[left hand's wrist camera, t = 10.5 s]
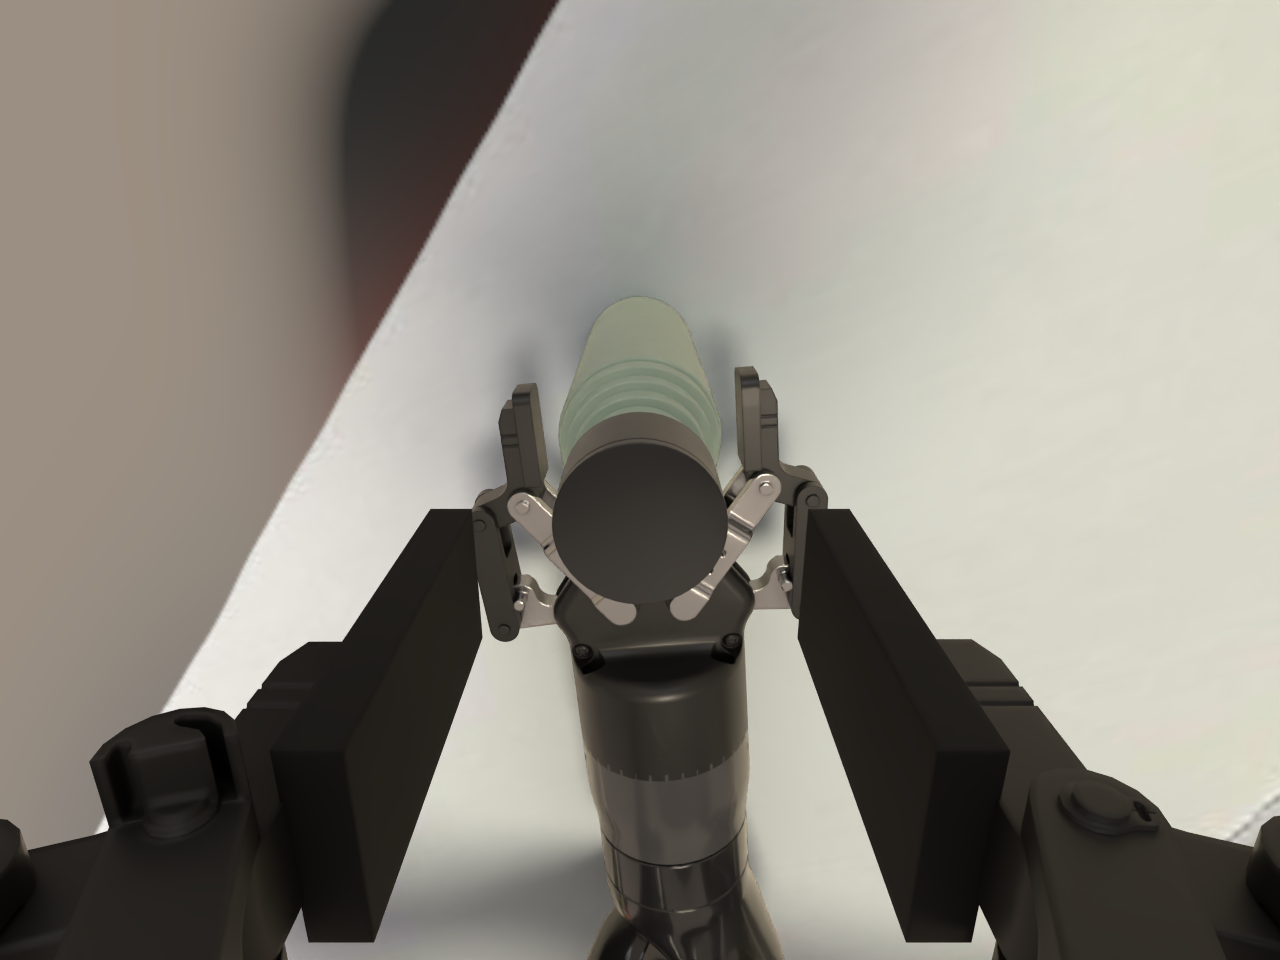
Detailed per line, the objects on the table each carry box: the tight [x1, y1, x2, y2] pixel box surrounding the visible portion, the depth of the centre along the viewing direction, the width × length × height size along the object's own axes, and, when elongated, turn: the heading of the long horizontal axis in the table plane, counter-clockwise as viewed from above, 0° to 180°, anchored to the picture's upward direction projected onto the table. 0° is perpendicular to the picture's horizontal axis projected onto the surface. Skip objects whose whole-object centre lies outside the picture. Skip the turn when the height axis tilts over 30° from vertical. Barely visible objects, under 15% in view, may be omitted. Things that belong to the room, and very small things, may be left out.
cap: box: [552, 412, 728, 604], centre depth 18 cm, size 4×4×2 cm
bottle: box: [559, 297, 721, 467], centre depth 26 cm, size 5×5×20 cm
